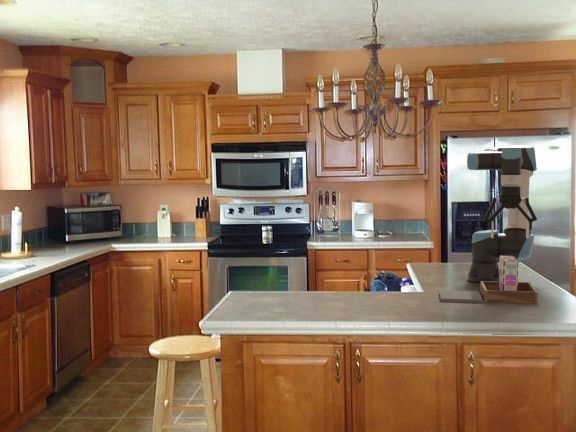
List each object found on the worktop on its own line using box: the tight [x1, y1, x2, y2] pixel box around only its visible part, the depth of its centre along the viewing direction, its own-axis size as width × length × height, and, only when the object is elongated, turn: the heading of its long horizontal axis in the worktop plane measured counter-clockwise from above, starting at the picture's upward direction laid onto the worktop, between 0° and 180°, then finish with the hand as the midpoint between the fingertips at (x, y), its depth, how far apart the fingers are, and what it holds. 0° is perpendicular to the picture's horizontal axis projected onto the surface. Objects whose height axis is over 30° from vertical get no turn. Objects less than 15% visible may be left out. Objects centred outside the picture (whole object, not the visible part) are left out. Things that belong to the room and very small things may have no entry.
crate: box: [479, 281, 539, 304], centre depth 265 cm, size 20×20×4 cm
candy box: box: [498, 256, 519, 291], centre depth 265 cm, size 14×6×16 cm, turn 168°
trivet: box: [439, 289, 483, 304], centre depth 265 cm, size 16×16×1 cm
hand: (509, 238), depth 263 cm, fingers open, 13 cm apart
